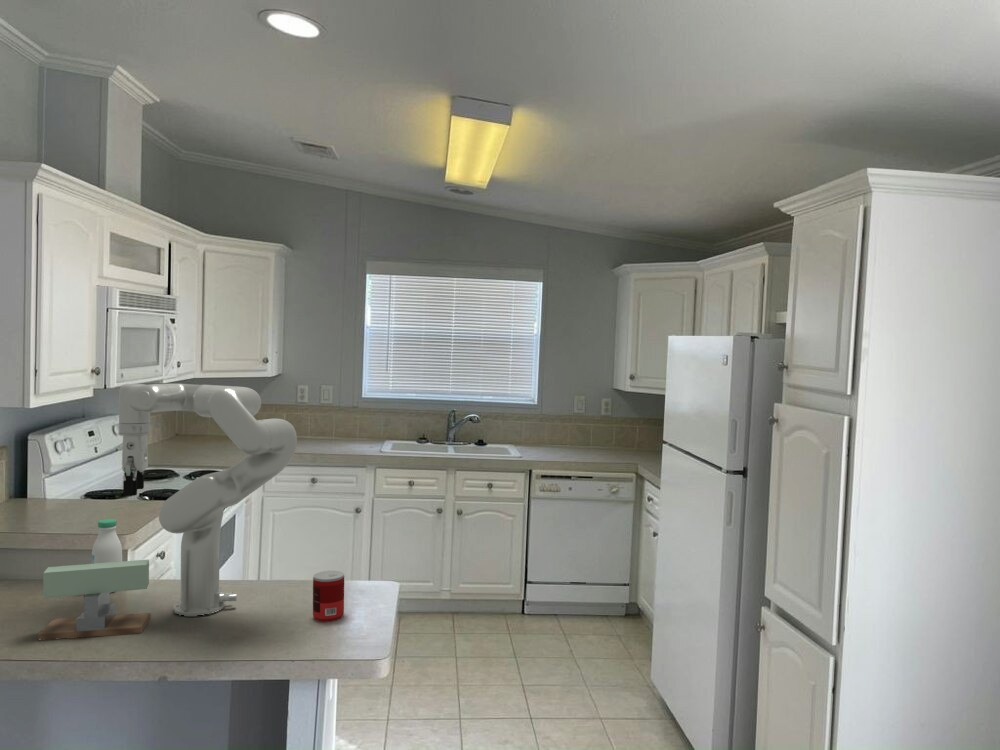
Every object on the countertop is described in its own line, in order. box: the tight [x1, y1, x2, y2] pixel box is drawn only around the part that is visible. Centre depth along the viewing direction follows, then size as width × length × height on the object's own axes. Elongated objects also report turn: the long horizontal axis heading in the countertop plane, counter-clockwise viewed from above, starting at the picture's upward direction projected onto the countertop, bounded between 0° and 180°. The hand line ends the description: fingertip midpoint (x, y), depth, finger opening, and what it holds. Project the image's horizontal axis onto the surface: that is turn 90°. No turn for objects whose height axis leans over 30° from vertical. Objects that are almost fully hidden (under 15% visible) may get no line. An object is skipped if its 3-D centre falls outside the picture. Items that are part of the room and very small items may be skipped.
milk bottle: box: [91, 518, 123, 594], centre depth 205 cm, size 8×8×20 cm
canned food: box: [312, 570, 345, 623], centre depth 186 cm, size 8×8×11 cm
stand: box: [38, 592, 152, 640], centre depth 175 cm, size 22×10×10 cm, turn 104°
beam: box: [42, 559, 150, 599], centre depth 175 cm, size 22×5×6 cm, turn 111°
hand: (133, 492), depth 195 cm, fingers open, 9 cm apart
